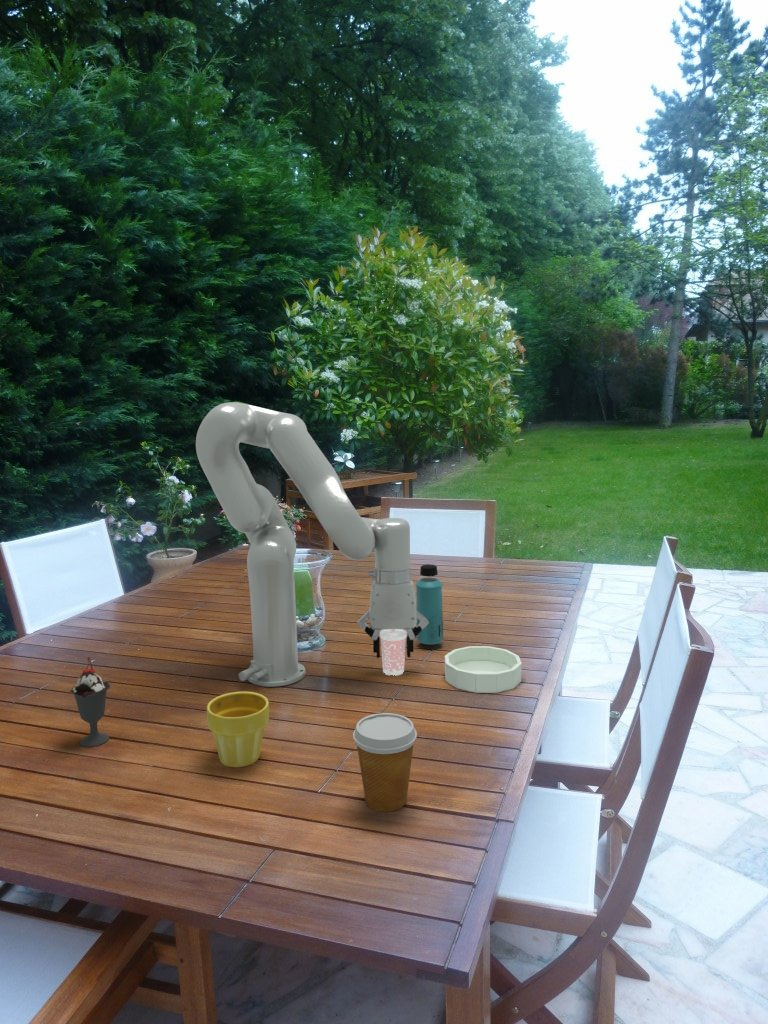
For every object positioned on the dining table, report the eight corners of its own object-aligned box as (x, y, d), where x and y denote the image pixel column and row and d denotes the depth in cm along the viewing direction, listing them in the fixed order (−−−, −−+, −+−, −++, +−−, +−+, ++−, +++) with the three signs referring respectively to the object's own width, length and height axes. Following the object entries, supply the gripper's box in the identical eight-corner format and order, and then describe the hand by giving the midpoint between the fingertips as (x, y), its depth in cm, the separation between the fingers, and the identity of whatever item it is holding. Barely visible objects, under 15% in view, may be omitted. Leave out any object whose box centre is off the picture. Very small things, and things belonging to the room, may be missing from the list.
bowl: (502, 698, 142) (502, 680, 141) (431, 682, 150) (431, 664, 150) (531, 671, 155) (531, 654, 155) (465, 658, 164) (465, 641, 163)
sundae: (102, 728, 132) (95, 651, 130) (121, 738, 128) (114, 659, 126) (67, 741, 127) (59, 662, 125) (86, 753, 123) (79, 671, 121)
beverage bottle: (441, 651, 168) (441, 569, 165) (413, 649, 170) (413, 568, 166) (444, 641, 175) (444, 562, 171) (418, 640, 176) (417, 561, 173)
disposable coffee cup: (414, 781, 112) (414, 710, 110) (419, 817, 103) (419, 740, 101) (354, 783, 112) (353, 712, 110) (354, 819, 103) (352, 742, 101)
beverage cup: (373, 671, 157) (373, 610, 154) (393, 664, 161) (392, 604, 158) (393, 679, 152) (393, 616, 150) (413, 671, 157) (413, 610, 154)
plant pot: (283, 751, 123) (281, 698, 121) (243, 779, 114) (240, 722, 112) (238, 737, 128) (235, 686, 126) (196, 763, 119) (192, 709, 117)
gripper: (351, 581, 149) (353, 662, 152) (434, 579, 149) (434, 661, 152) (353, 572, 157) (354, 649, 160) (431, 570, 157) (431, 648, 160)
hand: (393, 654), depth 156 cm, fingers closed on beverage cup, 6 cm apart
